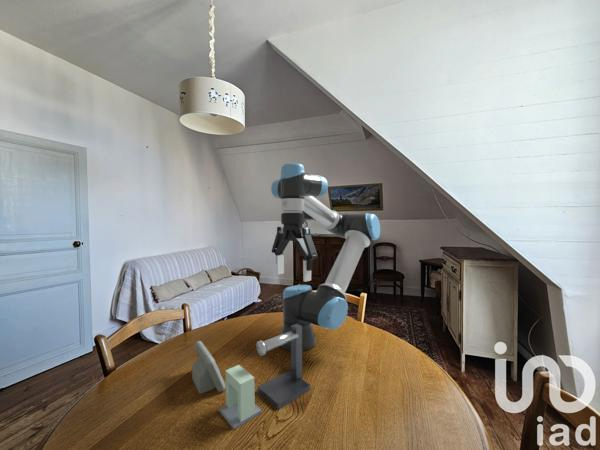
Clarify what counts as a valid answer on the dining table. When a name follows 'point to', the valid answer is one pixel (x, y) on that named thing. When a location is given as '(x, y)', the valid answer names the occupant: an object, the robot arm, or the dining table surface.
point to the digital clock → (206, 371)
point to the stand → (287, 383)
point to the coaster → (236, 415)
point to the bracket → (240, 391)
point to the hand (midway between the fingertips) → (293, 277)
